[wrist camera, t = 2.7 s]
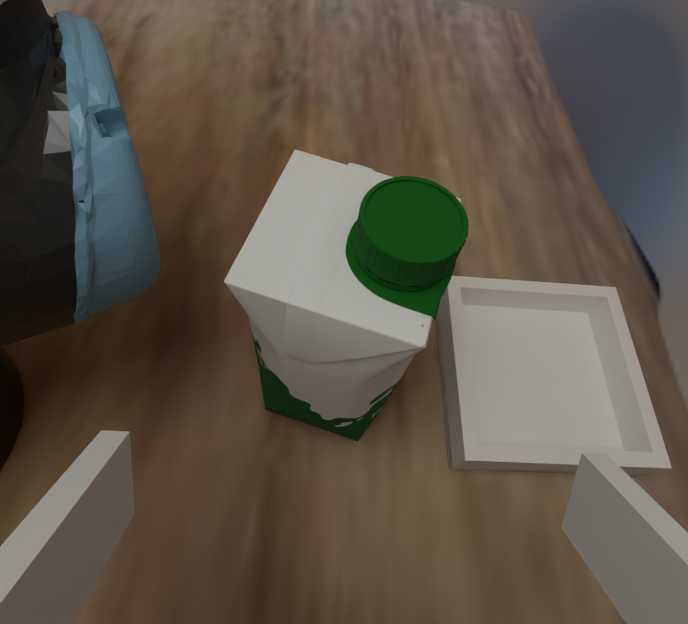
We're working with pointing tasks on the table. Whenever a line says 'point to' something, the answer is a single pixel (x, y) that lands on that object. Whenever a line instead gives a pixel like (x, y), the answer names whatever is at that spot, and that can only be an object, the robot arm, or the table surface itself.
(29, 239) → the robot arm
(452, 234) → the soya milk
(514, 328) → the square holder
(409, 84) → the table surface
